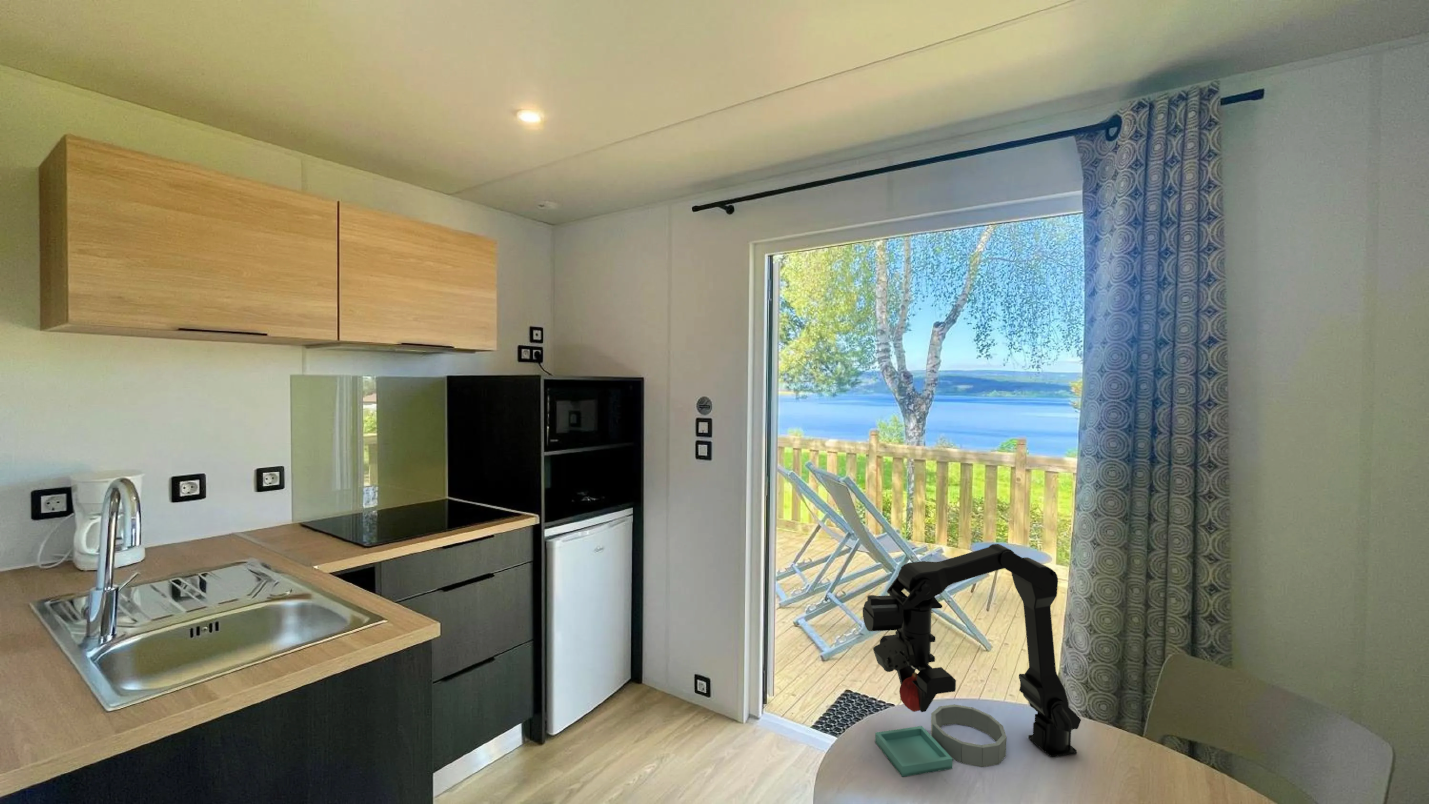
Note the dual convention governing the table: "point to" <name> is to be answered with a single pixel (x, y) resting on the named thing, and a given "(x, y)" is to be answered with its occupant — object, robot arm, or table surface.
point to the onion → (910, 693)
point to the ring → (964, 750)
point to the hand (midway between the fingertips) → (914, 702)
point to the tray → (913, 751)
